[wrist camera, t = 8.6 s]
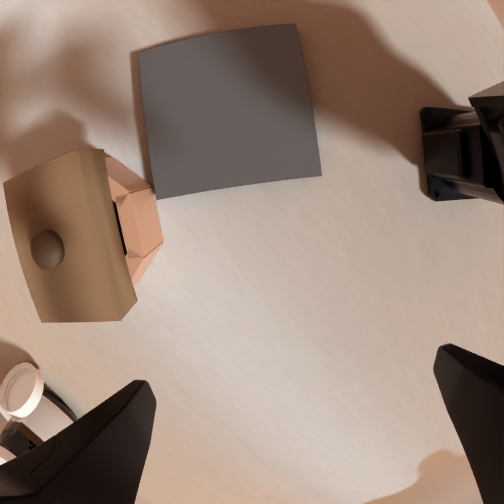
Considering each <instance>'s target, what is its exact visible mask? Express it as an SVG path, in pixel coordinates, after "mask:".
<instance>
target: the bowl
mask: <svg viewBox="0 0 504 504" xmlns="http://www.w3.org/2000/svg"><path fill="white" fill-rule="evenodd" d="M105 161H106V167H107V174H108V180H109V185H110V191H111V196H112V201H113V206H114V211H115V216H116V221H117V225H118V230H119V234H120V238H121V242H122V246H123V250H124V254H125V258H126V262H127V266H128V269H129V273H130V277H131V280H132V284H133V287H134V286H135V285H136V284H137V283H138V282H139V281H140V279H141V277H142V275H143V274H144V272H145V271H146V269H147V267H148V266H149V264H150V262H151V261H152V259H153V257H154V256H155V254H156V253H157V251H158V249H159V248H160V246H161V245H162V243H163V242H162V241H163V237H162V232H161V227H160V223H159V218H158V212H157V207H156V202H155V197H154V191H153V188H151V187H152V186H151V185H150V184H149V183H147V182H146V181H144V180H143V179H142V178H140V177H139V176H138V175H136V174H135V173H134V172H132V171H131V170H129V169H128V168H127V167H125V166H124V165H123V164H121V163H120V162H119V161H117V160H116V159H115V158H113V157H105Z"/></svg>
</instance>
